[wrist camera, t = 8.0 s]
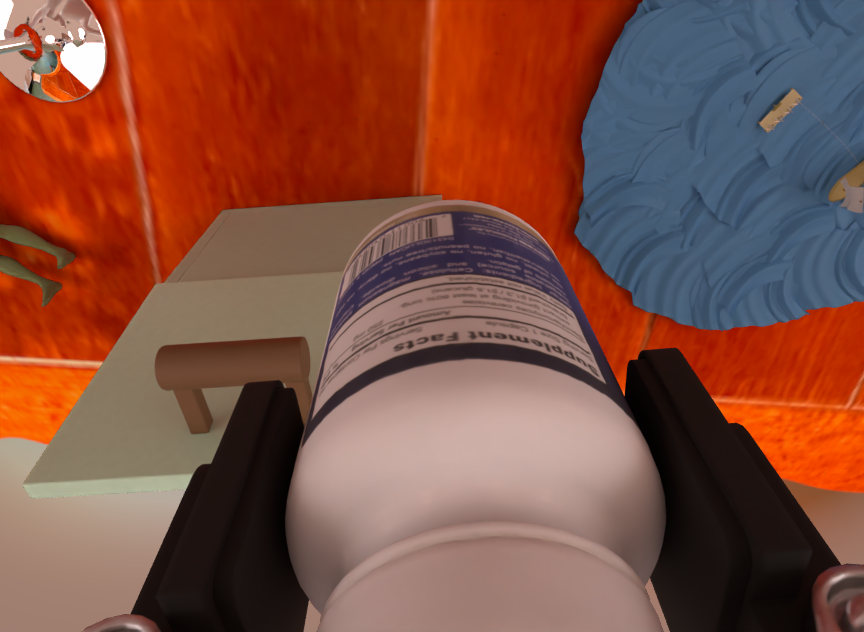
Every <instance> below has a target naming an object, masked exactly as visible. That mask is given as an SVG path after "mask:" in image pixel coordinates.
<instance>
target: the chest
mask: <svg viewBox="0 0 864 632" xmlns="http://www.w3.org/2000/svg"><path fill="white" fill-rule="evenodd" d="M435 201H442V195H430V196H416V197H401V198H387V199H372V200H358V201H344V202H329V203H315V204H300V205H286V206H272V207H257V208H243V209H228V210H222V212H221V213H220V214H219V215H218V217H217V218H216V219H215V220H214V222H213V223H212V224H211V225H210V226H209V228H208V229H207V230H206V231H205V233H204V234H203V235H202V236H201V238H200V239H199V240H198V241H197V243H196V244H195V245H194V246H193V247H192V249H191V250H190V251H189V252H188V254H187V255H186V256H185V257H184V259H183V260H182V261H181V262H180V263H179V265H178V266H177V267H176V268H175V270H174V271H173V272H172V273H171V275H170V276H169V277H168V278H167V279H166V281H165V282H164V283H175V282H190V281H205V280H220V279H235V278H250V277H264V276H279V275H294V274H309V273H324V272H339V271H344V270H345V268H346V266H347V263H348V261H349V260H350V258H351V256H352V254H353V253H354V251H355V250H356V248H357V247H358V246H359V244H360V243H361V242H362V241H363V239H364V238H365V237H366V236H367V235H368V234H369V233H370V232H371V231H372V230H373V229H374V228H376V227H377V226H378V225H380V224H381V223H382V222H384V221H385V220H387V219H388V218H390V217H392V216H394V215H395V214H397V213H399V212H402V211H404V210H406V209H408V208H411V207H414V206H418V205H421V204H425V203H429V202H435Z"/></svg>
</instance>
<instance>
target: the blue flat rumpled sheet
mask: <svg viewBox="0 0 864 632" xmlns="http://www.w3.org/2000/svg"><path fill="white" fill-rule="evenodd" d="M581 140H582V148H583V154H584V158H585V170H584V177H583V192H584V200H583V202H582V204H581V207H580V209H579V212H578V213H579V218H580V219H579V221H578V223H577V225H576V228H575V231H574V233H575V234H576V236H577V237H578V239H579V241H580V242H581V244H582V245H583V247H585V248H586V249H588V250H589V251H590V252H591V253H592V254H593V255H594V256H595V257H596V258H597V260H598V261H599V263H600V265H601V267H602V269H603V270H604V272H605V273H606V274H607V275H609V276H610V277H611V278H613V279H614V281H615V283H616V284H617V285H619V286H620V287H623V288H624V289H626V290H628V291H630V292H632V300H633V305H634V306H637V307H639V308H641V309H643V310H645V311H646V312H652V313H657V314H659V315H662V316H666V317H669V318H671V319H673V320H674V321H676V322H677V323H679V324H684V325H689V326H695V327H696V328H698V329H708V330H722V331H723V330H729V329H731V328H733V327H746V326H751V325H754V326H760V327H763V326H767V325H771V324H775V323H777V322H788V321H790V320H795V319H799V318H801V317H802V316H804V315H805V314H809V313H808V312H806V311H805V310H808V309H818V308H822V307H833V308H835V307H840V306H844V305H847V304H850V303H852V302H854V301H859V302H862V301H864V0H643V2H642V3H639V4H638V7H637V11H636V13H635V14H634V15H633V17H632V18H631V19H630V20H628V21H627V22H626V24H625V26H624V29H623V31H622V33H621V35H620V37H619V38H618V40H617V42H616V43H615V45H614V47H613V49H612V52H611V54H610V56H609V58H608V60H607V62H606V65H605V67H604V70H603V74H602V77H601V80H600V83H599V87H598V89H597V92H596V94H595V95H594V97H593V99H592V101H591V104H590V107H589V110H588V113H587V115H586V118H585V120H584V121H583V131H582V135H581Z"/></svg>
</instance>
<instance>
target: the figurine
mask: <svg viewBox="0 0 864 632" xmlns="http://www.w3.org/2000/svg"><path fill="white" fill-rule="evenodd" d="M0 238H3V239H6V240H8V241H11V242H13V243H16V244H20V245H24V246H30V247H33V248H37V249H40V250H43V251H45V252H47V253H49V254H51V255H54V256H56V257H57V261H58V263H57V264H58V266H57V268H58V269H62V268H64V267H65V266H66V265H67V264H69V263H71V262H72V261H73V260H74V259H75V254H74V253H72V252H68V251H67V250H66V249H64V248H60V247H57V246H54V245H52V244H50V243H48V242H47V241H45V240H43V239H42V238H40V237H39V236H37V235H36V234H34V233H32V232H31V231H29V230H27V229H26V228H24V227H20V226H13V225H2V224H0ZM0 271H1V272H3V273H5V274H8V275H11V276H15V277H18V278H21V279H25V280H28V281H31V282H34V283H36V284H38V285H39V286H40V287H41V288H42V291H43V303H42V307H43V306H46V305H47V304H48V303H49V302H50V301H51V299H52V298H53V296H54V295H55V294H56V293H57V292H58V291H59V290H61V288H62V284H61V283H59V282H54V281H52V280H49V279H46V278H43V277H41V276H39V275H37V274H35V273H34V272H32V271H30V270H29V269H27V268H26V267H24V266H23V265H21V264H20V263H19V262H18V261H16V260H15V259H13V258H11V257H8V256H3V255H0Z"/></svg>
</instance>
